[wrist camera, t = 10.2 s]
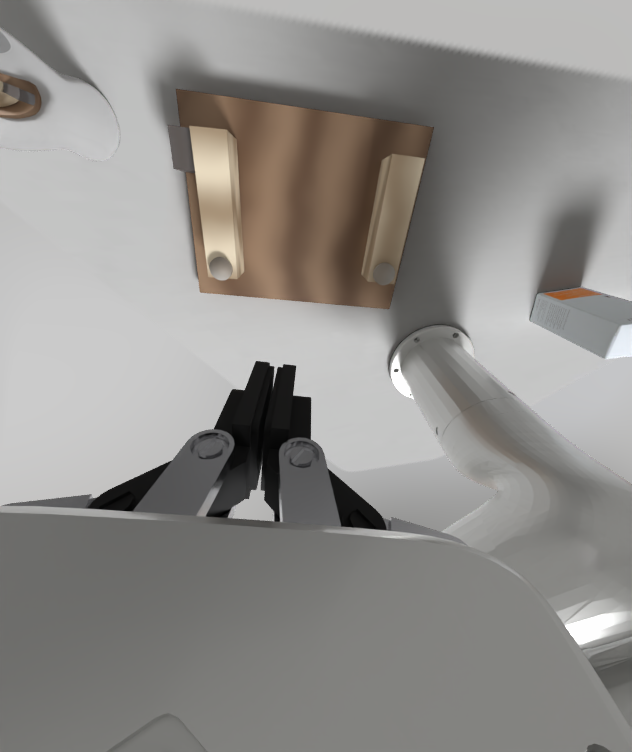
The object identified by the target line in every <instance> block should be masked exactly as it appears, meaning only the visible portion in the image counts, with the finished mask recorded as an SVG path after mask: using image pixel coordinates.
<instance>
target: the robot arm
mask: <svg viewBox="0 0 632 752" xmlns="http://www.w3.org/2000/svg"><path fill="white" fill-rule="evenodd" d="M474 357H475V355H474V347H473V344H472V342H471V341H470V339H469V338H468V337H467V336H466V335H465V334H464V333H463V332H461V331H460V330H459V329H457V328H454V327H451V326H446V325H434V326H429V327H425V328H423V329H420V330H418V331H416V332H414V333H412V334H411V335H409V336H408V337H407V338H406V339H404V340H403V341H402V342H401V343H400V345H399V346H398V347H397V349H396V350H395V352H394V353H393V356H392V358H391V361H390V366H389V368H390V377H391V380H392V382H393V384H394V386H395V387H396V388H397V390H398V391H400V392H401V393H402V394H404V395H405V396H407V397H410V398H414V400H415V402H416V404H417V405H418V407H419V409H420V411H421V412H422V414H423V416H424V418H425V419H426V421H427V423H428V425H429V426H430V428H431V430H432V432H433V433H434V435H435V437H436V439H437V440H438V442H439V444H440V446H441V447H442V449H443V451H444V453H445V454H446V456H447V458H448V460H449V461H450V462H451V464H452V465H453V466H454V468H455V469H456V470H458V472H460V473H461V474H462V475H463V476H465V477H466V478H468V479H470V480H472V481H474V482H476V483H478V484H481V485H483V486H486V487H489V488H492V489H495V490H498V491H497V494H496V495H495V496H494V497H492V498H491V499H490V500H488V501H487V502H486V503H484V504H483V505H482V506H481V507H479V508H478V509H476V510H474V511H473V512H471V513H470V514H468V515H466V516H465V517H463V518H462V519H460V520H459V521H457V522H455V523H454V524H452V525H451V526H449V527H448V528H447V529H445V530H443V531H442V532H439V531H436V530H433V529H430V528H426V527H423V526H420V525H416V524H413V523H410V522H406V521H403V520H399V519H396V518H393V517H391V519H390V520H387V519H384V518H382V516H381V515H380V514H379V513H378V512H377V511H376V509H374V508H373V507H372V506H371V505H369V503H367V502H366V501H365V500H364V499H363V498H362V497H360V496H359V495H358V494H357V493H356V492H355V491H353V490H352V489H351V488H350V487H349V486H347V485H346V484H345V483H344V482H343V481H342V480H341V479H339V478H338V477H337V476H336V475H335V474H334V473H332V472H331V471H330V470H329V469H328V468H327V464H326V460H325V456H324V452H323V450H322V448H321V447H320V446H319V445H318V444H317V443H316V442H314V441H313V440H311V397H301V396H293V390H294V381H295V372H296V366H294V365H285V364H283V368H282V367H278V369H277V374H276V378H275V382H274V387H273V378H274V367H273V366H270V363H268V362H260V361H256V363H255V365H254V368H253V370H252V373H251V375H250V378H249V381H248V383H247V386H246V388H245V390H236V389H233V390H232V391H231V393H230V395H229V397H228V399H227V401H226V404H225V406H224V408H223V410H222V412H221V415H220V417H219V419H218V421H217V423H216V426H215V428H214V429H212V430H205V431H202V432H199V433H197V434H195V435H194V436H192V437H191V438H190V439H189V440H188V441H187V442H186V444H185V445H184V446H183V447H182V449H181V450H180V451H179V453H178V454H177V455H176V456H175V458H174V459H173V460H172V461H170V462H168V463H165V464H163V465H161V466H159V467H157V468H155V469H153V470H150V471H148V472H146V473H144V474H142V475H140V476H138V477H135V478H133V479H131V480H129V481H127V482H125V483H122V484H121V485H118V486H116V487H114V488H112V489H110V490H108V491H106V492H105V493H103V494H101V495H100V496H99V497H97V498H93V497H92V495H91V494H90V495H81V496H73V497H64V498H56V499H46V500H38V501H29V502H20V503H11V504H7V505H2V506H0V752H632V484H631V483H629V482H628V481H626V480H625V479H624V478H622V477H620V476H619V475H617V474H616V473H614V472H613V471H612V470H610V469H609V468H607V467H606V466H604V465H603V464H601V463H600V462H598V461H597V460H595V459H594V458H592V457H591V456H589V455H588V454H587V453H585V452H584V451H583V450H581V449H580V448H579V447H577V446H576V445H574V444H573V443H572V442H570V441H569V440H568V439H566V438H565V437H564V436H563V435H562V434H560V433H559V432H558V431H557V430H555V429H554V428H553V427H552V426H551V425H549V424H548V423H547V422H546V421H545V420H543V419H542V418H541V417H540V416H539V415H538V414H537V413H535V412H534V411H533V410H532V409H531V408H530V407H529V406H528V405H526V404H525V403H524V402H523V401H522V400H521V399H520V398H518V397H517V396H516V395H515V394H514V393H513V392H512V391H511V390H509V389H508V388H507V387H506V386H505V385H504V384H503V383H502V382H500V381H499V380H498V379H497V378H496V377H495V376H494V375H493V374H491V373H490V372H489V371H488V370H487V369H486V368H485V367H484V366H482V365H481V364H480V363H479V362H478V361H477V360H476V359H475V358H474ZM261 465H262V477H261V490H264V491H265V497H264V500H265V501H266V503H267V504H268V505H269V506H270V507H271V508H272V509H273V521H260V520H246V519H232V517H233V515H234V512H235V508H236V505H237V504H238V503H240V502H241V501H243V500H244V499H249V496H250V491H251V490H256V488H257V485H258V479H259V475H260V470H261Z"/></svg>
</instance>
